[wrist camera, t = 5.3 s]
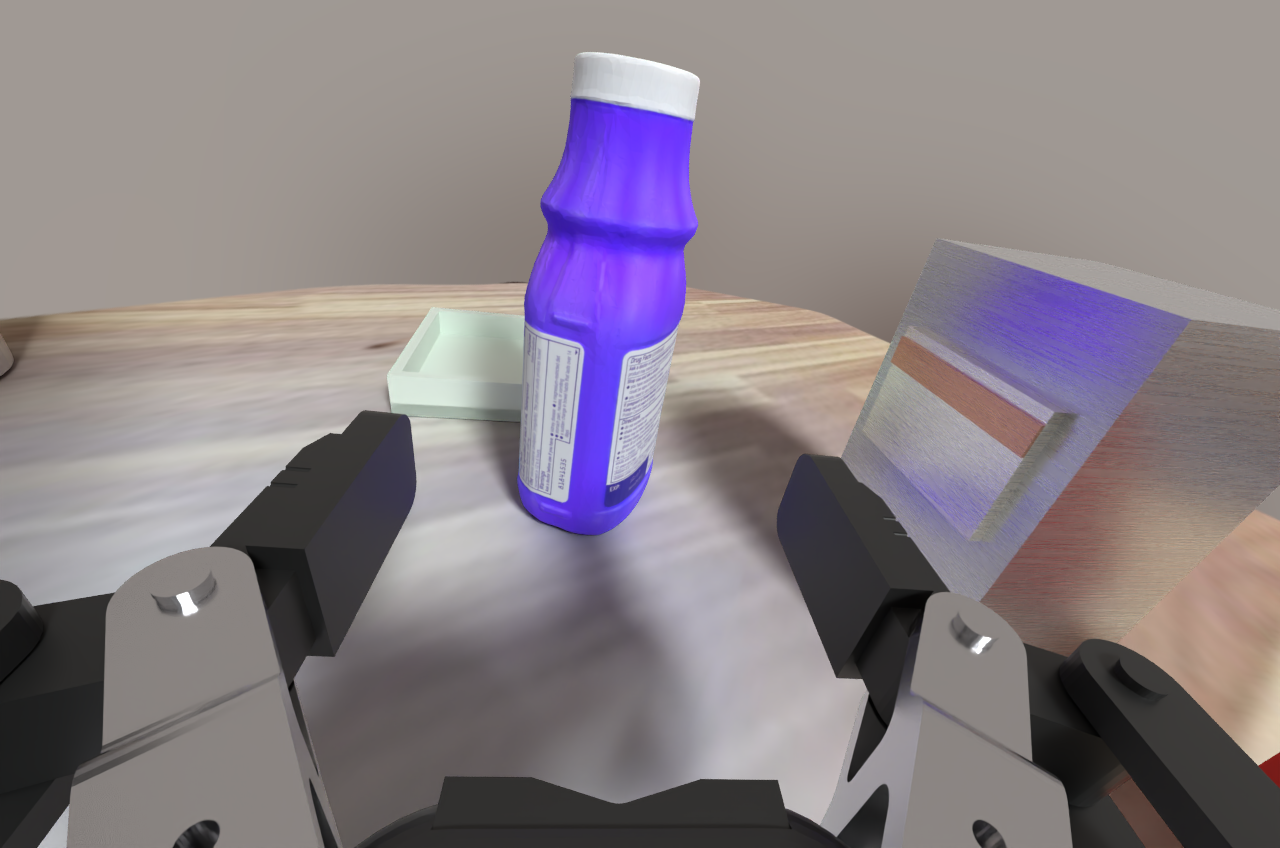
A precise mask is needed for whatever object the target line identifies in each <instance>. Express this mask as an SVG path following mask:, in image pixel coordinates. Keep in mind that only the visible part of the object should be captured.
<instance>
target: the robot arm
mask: <svg viewBox="0 0 1280 848" xmlns="http://www.w3.org/2000/svg"><path fill="white" fill-rule="evenodd" d="M13 362H14V358H13V356H12V353H11V351H10V350H9V348H8V346H7V344H6V342H5V340H4V339H3V337H2V335H1V333H0V376H1V375H3V374H4V373H5V372H6V371H7V370H8V369H10V368H11V366H12V364H13ZM415 492H416V470H415V461H414V452H413V442H412V433H411V424H410V420H409V418H408V416H407V415H406V414H398V413H387V412H377V411H367V410H365V411H362V412H360V413H359V414H358V416H357V417H356V418H355V419H354V420H353V421H352V422H351V424H350V425H349V426H348V427H347V428H346V429H345V431H344V432H343V433H342V434H333V433H330V434H328V435H326V436H324V437H322V438H320V439H319V440H317V441H315V442H313V443H311V444H309V445H308V446H306V447H304V448H303V449H302V450H301V451H300V452H299V453H298V454H297V455H296V456H295V457H294V458H293V459H292V460H291V461H290V462H289V463H288V465H287V466H286V469H285V470H282V471H281V472H280V473H279V474H278V475H277V476H276V477H275V478H274V479H273V480H272V481H271V485H270V486H267V487H266V488H265V489H264V490H263V491H262V492H261V493H260V494H259V495H258V496H257V497H256V498H255V499H254V500H253V501H252V503H251V504H250V505H249V506H248V507H247V508H246V509H245V510H244V511H243V512H242V513H241V514H240V515H239V516H238V517H237V518H236V519H235V520H234V522H233V523H232V524H231V525H230V526H229V527H228V528H227V529H226V530H225V531H224V532H223V533H222V534H221V535H220V536H219V537H218V538H217V539H216V540H215V542H214V543H213V544H212V545H211V546H210V547H204V548H198V549H192V550H188V551H184V552H181V553H178V554H175V555H172V556H169V557H166V558H164V559H162V560H160V561H157V562H155V563H153V564H151V565H150V566H148V567H146V568H144V569H143V570H141V571H139V572H138V573H136V574H135V575H134V576H132V577H131V578H130V579H128V580H127V581H126V582H125V583H124V584H123V585H122V586H121V587H120V588H119V589H118V590H117V591H116V592H115V593H110V594H104V595H98V596H92V597H86V598H80V599H74V600H68V601H62V602H56V603H50V604H44V605H38V606H32V605H31V603H30V602H29V601H28V599H27V598H26V597H25V595H24V594H23V593H22V591H21V590H20V589H19V588H18V587H17V586H16V585H15V584H13V583H11V582H8V581H4V580H0V848H37V847H38V846H39V845H40V843H41V842H42V840H43V839H44V838H45V836H46V835H47V834H48V832H49V831H50V830H51V828H52V827H53V826H54V824H55V823H56V821H57V820H58V819H59V817H60V816H61V815H62V813H63V812H64V811H65V809H66V808H67V807H68V805H69V804H70V807H69V821H68V836H67V848H343V846H342V843H341V839H340V836H339V832H338V829H337V826H336V823H335V819H334V816H333V813H332V810H331V807H330V804H329V801H328V797H327V794H326V791H325V787H324V784H323V780H322V776H321V773H320V769H319V765H318V762H317V758H316V754H315V751H314V747H313V743H312V740H311V736H310V732H309V729H308V725H307V721H306V718H305V714H304V710H303V707H302V703H301V699H300V696H299V692H298V688H297V685H296V682H295V679H294V677H295V676H296V674H297V672H298V670H299V668H300V667H301V665H302V663H303V661H304V660H305V658H306V656H329V657H335V655H336V653H337V651H338V649H339V647H340V645H341V643H342V641H343V639H344V637H345V635H346V633H347V631H348V629H349V628H350V626H351V624H352V622H353V620H354V618H355V616H356V614H357V612H358V610H359V608H360V606H361V604H362V602H363V600H364V599H365V597H366V595H367V593H368V591H369V589H370V587H371V585H372V583H373V581H374V579H375V577H376V575H377V573H378V571H379V570H380V568H381V566H382V564H383V562H384V560H385V558H386V556H387V554H388V552H389V550H390V548H391V546H392V544H393V542H394V541H395V539H396V537H397V535H398V533H399V531H400V529H401V527H402V525H403V523H404V521H405V519H406V517H407V515H408V513H409V511H410V509H411V507H412V504H413V501H414V497H415ZM777 532H778V536H779V539H780V541H781V544H782V546H783V549H784V551H785V554H786V556H787V559H788V561H789V563H790V566H791V568H792V571H793V573H794V576H795V578H796V580H797V583H798V585H799V588H800V590H801V593H802V595H803V597H804V600H805V602H806V605H807V607H808V610H809V612H810V615H811V617H812V619H813V622H814V624H815V627H816V629H817V632H818V634H819V636H820V639H821V641H822V644H823V646H824V649H825V651H826V653H827V656H828V658H829V661H830V663H831V666H832V668H833V670H834V673H835V675H836V678H850V679H863V681H864V683H865V685H866V688H867V691H866V693H865V694H864V696H863V697H862V699H861V702H860V705H859V708H858V712H857V716H856V719H855V723H854V726H853V730H852V733H851V737H850V741H849V744H848V748H847V751H846V755H845V759H844V762H843V766H842V769H841V773H840V777H839V780H838V784H837V787H836V790H835V793H834V796H833V799H832V801H831V804H830V806H829V808H828V810H827V812H826V814H825V816H824V818H823V820H822V822H821V824H820V825H818V824H817V823H815V822H813V821H812V820H810V819H808V818H806V817H804V816H802V815H800V814H798V813H796V812H793V811H791V810H789V809H786V808H785V807H784V803H783V799H782V795H781V791H780V787H779V783H778V780H726V779H700V780H697V781H694V782H691V783H688V784H684V785H681V786H678V787H675V788H672V789H669V790H665V791H662V792H659V793H656V794H653V795H650V796H647V797H643V798H640V799H637V800H634V801H631V802H627V803H623V804H615V803H610V802H607V801H604V800H601V799H598V798H594V797H591V796H588V795H585V794H582V793H579V792H576V791H573V790H570V789H566V788H563V787H560V786H557V785H554V784H551V783H548V782H545V781H542V780H538V779H535V778H532V777H445V779H444V783H443V787H442V791H441V795H440V799H439V803H438V805H435V806H431V807H428V808H425V809H422V810H419V811H417V812H415V813H412V814H410V815H408V816H405V817H403V818H401V819H399V820H397V821H395V822H393V823H392V824H390V825H388V826H386V827H385V828H383V829H381V830H379V831H378V832H376V833H374V834H373V835H372V836H370V837H369V838H367V839H366V840H364V841H363V842H362V843H360V844H359V845H357V846H356V847H355V848H1145V846H1144V845H1143V843H1142V842H1141V841H1140V839H1139V838H1138V836H1137V835H1136V833H1135V832H1134V831H1133V829H1132V828H1131V826H1130V825H1129V823H1128V822H1127V821H1126V819H1125V818H1124V816H1123V815H1122V813H1121V812H1120V811H1119V809H1118V808H1117V806H1116V805H1115V803H1114V802H1113V801H1112V799H1111V798H1110V796H1109V795H1108V794H1110V793H1111V792H1112V791H1114V790H1115V789H1117V788H1118V787H1119V786H1121V785H1122V784H1123V783H1125V782H1126V781H1127V780H1129V779H1130V778H1132V779H1133V780H1134V782H1135V783H1136V784H1137V786H1138V787H1139V788H1140V790H1141V791H1142V792H1143V794H1144V795H1145V796H1146V798H1147V799H1148V800H1149V802H1150V803H1151V804H1152V806H1153V807H1154V808H1155V810H1156V811H1157V812H1158V814H1159V815H1160V816H1161V817H1162V819H1163V820H1164V821H1165V823H1166V824H1167V825H1168V827H1169V828H1170V829H1171V831H1172V832H1173V833H1174V835H1175V836H1176V837H1177V839H1178V840H1179V841H1180V843H1181V844H1182V845H1183V847H1184V848H1280V788H1279V787H1278V786H1277V785H1276V784H1275V783H1274V782H1273V781H1272V780H1271V779H1270V778H1269V777H1268V776H1267V775H1266V774H1265V773H1264V772H1263V770H1262V769H1261V768H1260V767H1259V766H1258V765H1257V764H1256V763H1255V762H1254V761H1253V760H1252V759H1251V758H1250V757H1249V756H1248V755H1247V754H1246V753H1245V752H1244V751H1243V750H1242V749H1241V748H1240V747H1239V746H1238V745H1237V744H1236V743H1235V742H1234V740H1233V739H1232V738H1231V737H1230V736H1229V735H1228V734H1227V733H1226V732H1225V731H1224V730H1223V729H1222V728H1221V727H1220V726H1219V725H1218V724H1217V723H1216V722H1215V721H1214V720H1213V719H1212V718H1211V717H1210V716H1209V715H1208V714H1207V713H1206V712H1205V711H1204V709H1203V708H1202V707H1201V706H1200V705H1199V704H1198V703H1197V702H1196V701H1195V700H1194V699H1193V698H1192V697H1191V696H1190V695H1189V694H1188V693H1187V692H1186V691H1185V690H1184V689H1183V688H1182V687H1181V686H1180V685H1179V684H1178V683H1177V682H1176V681H1175V680H1174V679H1173V678H1172V677H1171V676H1169V675H1168V674H1167V673H1166V672H1165V671H1164V670H1162V669H1161V668H1160V667H1158V666H1157V665H1155V664H1154V663H1153V662H1151V661H1150V660H1148V659H1146V658H1145V657H1143V656H1142V655H1140V654H1138V653H1136V652H1135V651H1133V650H1131V649H1128V648H1126V647H1124V646H1122V645H1119V644H1117V643H1114V642H1111V641H1107V640H1102V639H1088V640H1086V641H1084V642H1082V643H1081V644H1080V645H1079V646H1078V648H1077V649H1076V650H1075V651H1074V652H1073V653H1072V654H1071V655H1070V656H1069V657H1066V656H1063V655H1060V654H1057V653H1054V652H1051V651H1048V650H1044V649H1041V648H1038V647H1035V646H1032V645H1029V644H1026V643H1023V642H1022V641H1021V639H1020V637H1019V636H1018V635H1017V633H1016V632H1015V631H1014V629H1013V628H1012V627H1011V626H1010V625H1009V624H1008V623H1007V622H1006V621H1005V620H1004V619H1003V618H1002V617H1000V616H999V615H998V614H997V613H995V612H994V611H993V610H991V609H990V608H988V607H987V606H985V605H983V604H982V603H980V602H978V601H976V600H974V599H971V598H969V597H967V596H964V595H961V594H956V593H951V592H950V591H949V589H948V588H947V587H946V585H945V584H944V583H943V581H942V580H941V578H940V577H939V576H938V574H937V573H936V572H935V570H934V569H933V567H932V566H931V565H930V563H929V562H928V561H927V559H926V558H925V557H924V555H923V554H922V552H921V551H920V550H919V548H918V547H917V546H916V544H915V543H914V541H913V540H912V539H911V537H907V532H906V531H905V529H904V528H903V526H902V525H901V524H900V522H899V521H896V517H895V515H894V514H893V513H892V511H891V510H890V509H889V507H888V506H887V504H886V503H885V502H884V500H883V499H882V498H881V497H879V496H878V495H877V494H876V493H874V492H873V491H872V490H871V489H869V488H868V487H867V486H866V485H864V484H863V483H862V482H858V481H857V479H856V478H855V477H854V475H853V474H852V472H851V471H850V469H849V468H848V467H847V465H846V464H845V462H844V461H843V460H842V459H841V458H839V457H833V456H823V455H812V454H803V455H801V456H800V457H799V459H798V460H797V463H796V465H795V468H794V470H793V473H792V475H791V478H790V481H789V483H788V486H787V488H786V491H785V494H784V496H783V499H782V502H781V504H780V507H779V510H778V514H777Z"/></svg>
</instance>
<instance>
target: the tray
mask: <svg viewBox="0 0 1280 848" xmlns="http://www.w3.org/2000/svg"><path fill="white" fill-rule="evenodd" d="M524 322H525V316H522V315H511V314H500V313H489V312H479V311H468V310H457V309H446V308H436V307H432V308H431V309H430V311H429V312H428V314H427V315H426V317H425V318H424V320H423V321H422V323H421V324H420V326H419V327H418V329H417V330H416V332H415V334H414V335H413V337H412V338H411V340H410V341H409V343H408V344H407V346H406V347H405V349H404V350H403V352H402V353H401V355H400V356H399V358H398V359H397V361H396V362H395V364H394V365H393V367H392V368H391V370H390V371H389V373H388V374H387V381H388V388H389V396H390V404H391V412H392V413H398V414H406V415H407V416H415V417H435V418H454V419H474V420H493V421H512V422H521V403H522V375H523V345H524Z"/></svg>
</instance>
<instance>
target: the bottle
mask: <svg viewBox="0 0 1280 848" xmlns="http://www.w3.org/2000/svg"><path fill="white" fill-rule="evenodd" d="M699 87H700V79H699V78H698V77H697V76H696V75H694V74H692V73H690V72H687V71H684V70H681V69H677V68H675V67H672V66H668V65H665V64H660V63H657V62H653V61H648V60H643V59H639V58H633V57H628V56H622V55H617V54H608V53H597V52H584V53H580V54H577V55H576V57H575V63H574V74H573V83H572V91H571V96H570V97H571V112H570V122H569V129H568V134H567V141H566V146H565V150H564V153H563V157H562V160H561V163H560V165H559V168H558V170H557V172H556V174H555V176H554V178H553V180H552V182H551V183H550V185H549V187H548V188H547V190H546V191H545V193H544V194H543V196H542V198H541V209H542V212H543V215H544V217H545V218H546V220H547V223H548V233H547V235H546V238H545V240H544V243H543V244H542V247H541V249H540V252H539V254H538V256H537V259H536V261H535V263H534V267H533V270H532V272H531V276H530V279H529V283H528V286H527V290H526V294H525V301H524V309H525V322H524V345H523V375H522V403H521V430H520V452H519V472H518V476H517V482H518V488H519V493H520V497H521V500H522V503H523V505H524V507H525V508H526V509H527V510H528V511H529V512H530V513H531V514H532V515H533V516H535V517H536V518H537V519H539V520H540V521H542V522H545V523H547V524H550V525H553V526H557V527H559V528H562V529H564V530H566V531H569V532H573V533H577V534H586V535H599V534H602V533H605V532H607V531H609V530H611V529H613V528H614V527H616V526H617V525H618V524H619V523H621V522H622V521H623V520H624V519H625V518H626V517H627V516H628V515H629V514H630V512H631V511H632V510H633V509H634V507H635V506H636V504H637V503H638V501H639V499H640V498H641V496H642V494H643V491H644V489H645V487H646V485H647V482H648V479H649V476H650V473H651V469H652V464H653V454H654V449H655V444H656V438H657V433H658V427H659V422H660V416H661V411H662V406H663V401H664V396H665V391H666V386H667V381H668V375H669V370H670V365H671V360H672V355H673V350H674V345H675V340H676V335H677V330H678V325H679V321H680V320H681V317H682V313H683V309H684V304H685V293H686V273H685V264H684V253H683V250H684V247H685V245H686V243H687V242H688V241H689V240H690V239H691V238H692V237H693V236H694V234H695V232H696V229H697V227H698V221H697V218H696V216H695V212H694V209H693V204H692V200H691V194H690V187H689V153H690V142H691V134H692V126H693V122H694V120H695V111H696V103H697V98H698V92H699Z"/></svg>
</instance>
